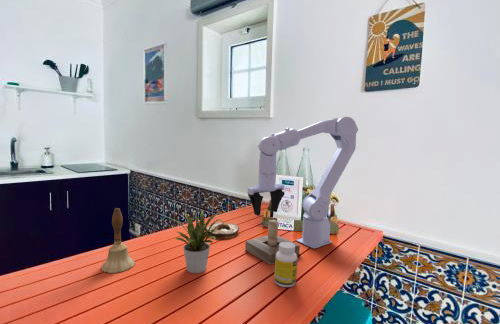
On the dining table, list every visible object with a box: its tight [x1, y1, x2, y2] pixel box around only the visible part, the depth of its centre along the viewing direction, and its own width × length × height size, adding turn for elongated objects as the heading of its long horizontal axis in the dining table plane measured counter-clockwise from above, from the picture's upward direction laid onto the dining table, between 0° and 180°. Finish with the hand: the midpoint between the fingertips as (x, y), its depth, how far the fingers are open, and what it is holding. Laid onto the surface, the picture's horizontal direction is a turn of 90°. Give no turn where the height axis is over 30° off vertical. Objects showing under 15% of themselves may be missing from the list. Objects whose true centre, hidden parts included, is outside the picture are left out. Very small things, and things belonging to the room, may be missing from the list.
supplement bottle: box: [274, 242, 298, 288], centre depth 70 cm, size 5×5×10 cm
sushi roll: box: [204, 222, 240, 241], centre depth 103 cm, size 15×15×4 cm
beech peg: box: [267, 219, 279, 247], centre depth 87 cm, size 3×3×10 cm
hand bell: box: [100, 207, 136, 274], centre depth 75 cm, size 8×8×16 cm
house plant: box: [170, 209, 222, 274], centre depth 75 cm, size 14×14×16 cm
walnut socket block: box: [244, 234, 301, 266], centre depth 87 cm, size 12×12×3 cm
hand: (265, 213), depth 94 cm, fingers open, 7 cm apart
